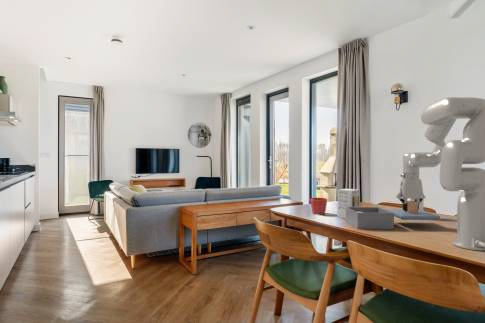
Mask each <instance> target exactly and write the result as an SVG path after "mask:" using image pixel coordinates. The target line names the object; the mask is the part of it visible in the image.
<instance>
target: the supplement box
mask: <svg viewBox="0 0 485 323" xmlns="http://www.w3.org/2000/svg"><path fill="white" fill-rule="evenodd" d="M346 207H360V189H357V188H355V189H354V188H341V189H338V190H337V218H339V219H345V220H346Z"/></svg>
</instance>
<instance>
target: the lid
mask: <svg viewBox="0 0 485 323" xmlns="http://www.w3.org/2000/svg"><path fill="white" fill-rule="evenodd" d="M406 204H407V211H403V208H383V209H384V210H387V211H390V212H392V213H394V218H398V219H400V220H401V221H436V219H441V216H440V215H438V214H434V213H432V212H431V213H430V212H428V211H425V210H423V211H422V210H418V202H417V201H413V200H407V202H406Z"/></svg>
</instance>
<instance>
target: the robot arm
mask: <svg viewBox="0 0 485 323" xmlns="http://www.w3.org/2000/svg"><path fill="white" fill-rule="evenodd" d="M458 119H459V120H460V119H461V120H462V119H469V120H468V121H467V122H466V123H465V125H464V127H463V129H462V130H463V131H462V139H453V140H450V141H447V142H445V139H446V138H447V136H448V134H449V133H450V131H451V129H452V128H453V126H454V124H455V122H456V121H457V120H458ZM420 120H421V122H422V123H423V124H424V125H427V126H428V127H427V128H426V130H425V132H424V137H425V139H426V140H428V141H429V142H431V143H432V144H435V145H434V148H433V149H432V151H431V152H409V153H407V152H406V153H404V154H403V155H402V173H401V174H400V178H401V177H402V178H401V179H400V180H401V181H400V186H399V192H398V193H397V195H396V196H395V197H396V199H398V200H399V201H400V202H401V203H402V207H401V209H403V211H407V204H406V202H407V199H408V198H414V201H417V202H418V210H419V204H420V202H421V201H422V200H423V201H424V199H426V196H425V195H424V194H423V193H424V190H423V183H422V179H421V178H420V168H436V167H437V166H438V165H439V184H440V186H441V188H442V189H444V190H445V191H447V192H460V194H459V196H458V199H457V202H456V203H457V206H456V208H457V210H456V215H457V216H456V239H453V240H452V243H451V244H453V245H454V246H455V247H457V248H462V249H467V250H470V251H472V250H473V251H481V252H482V251H484V252H485V169H484V168H481V167H473V166H472V167H471V166H469V167H468V166H467V167H466V166H465V167H463V165H479V164H484V163H485V98H480V97H456V96H455V97H446V98H442V99H439V100H438V101H436V102H434V103H431V104H429V105H428V106H426V107H425V108H424V110H422V113H421V114H420Z"/></svg>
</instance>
